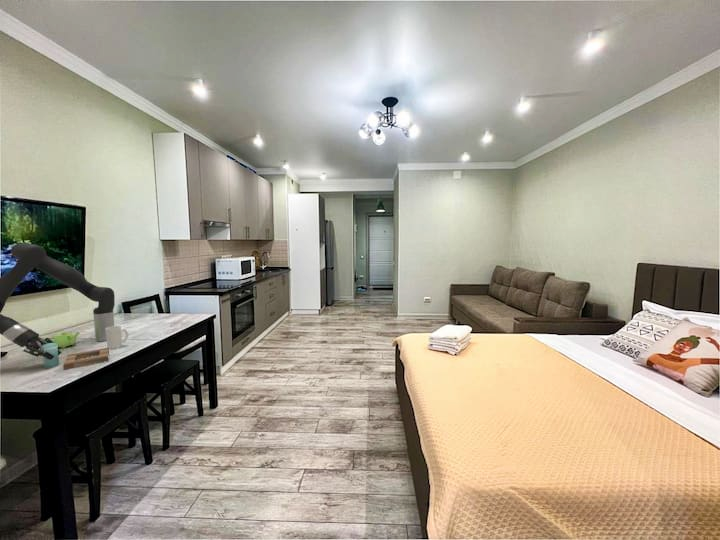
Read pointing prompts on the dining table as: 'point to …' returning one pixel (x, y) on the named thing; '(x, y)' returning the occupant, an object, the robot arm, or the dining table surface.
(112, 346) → the mug
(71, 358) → the wooden trivet
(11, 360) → the dining table surface
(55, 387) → the dining table surface
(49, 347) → the teal cylinder
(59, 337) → the teapot
